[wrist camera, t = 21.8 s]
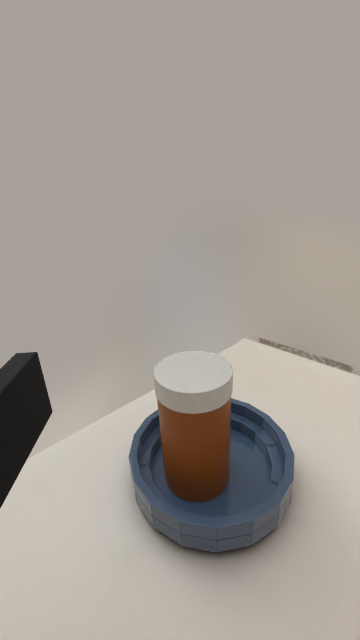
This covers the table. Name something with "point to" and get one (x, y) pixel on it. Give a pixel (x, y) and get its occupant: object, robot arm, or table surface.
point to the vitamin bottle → (195, 422)
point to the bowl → (236, 499)
